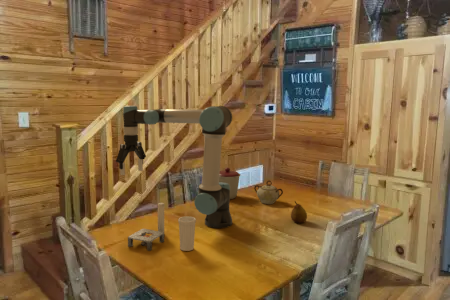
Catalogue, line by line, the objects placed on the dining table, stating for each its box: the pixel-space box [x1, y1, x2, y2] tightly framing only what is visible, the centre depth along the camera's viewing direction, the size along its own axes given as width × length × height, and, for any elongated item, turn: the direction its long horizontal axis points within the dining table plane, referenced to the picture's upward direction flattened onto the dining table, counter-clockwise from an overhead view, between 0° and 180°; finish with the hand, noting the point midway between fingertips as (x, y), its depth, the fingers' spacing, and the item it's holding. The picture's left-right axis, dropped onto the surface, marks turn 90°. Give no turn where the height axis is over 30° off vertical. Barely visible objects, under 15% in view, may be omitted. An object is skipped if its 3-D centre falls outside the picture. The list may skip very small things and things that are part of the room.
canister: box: [219, 167, 241, 200], centre depth 253 cm, size 18×18×21 cm
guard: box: [127, 228, 165, 252], centre depth 173 cm, size 12×12×5 cm
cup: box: [178, 215, 197, 252], centre depth 168 cm, size 8×8×14 cm
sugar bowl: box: [253, 180, 284, 205], centre depth 243 cm, size 20×15×15 cm
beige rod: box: [157, 202, 165, 233], centre depth 184 cm, size 3×3×16 cm
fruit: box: [290, 201, 308, 224], centre depth 207 cm, size 9×9×12 cm
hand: (131, 172), depth 203 cm, fingers open, 13 cm apart
